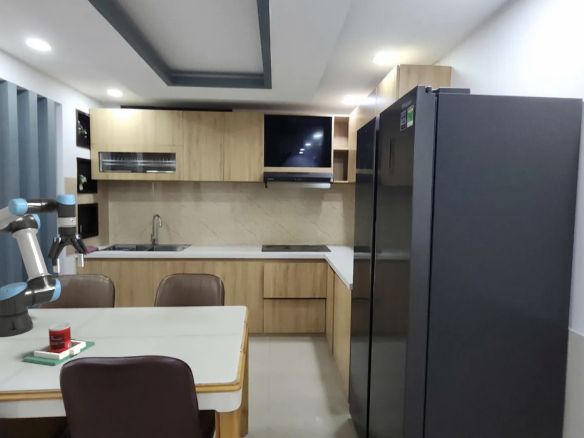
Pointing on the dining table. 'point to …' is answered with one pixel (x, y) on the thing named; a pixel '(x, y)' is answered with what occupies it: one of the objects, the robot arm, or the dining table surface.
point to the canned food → (59, 337)
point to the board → (54, 358)
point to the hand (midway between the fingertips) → (69, 269)
